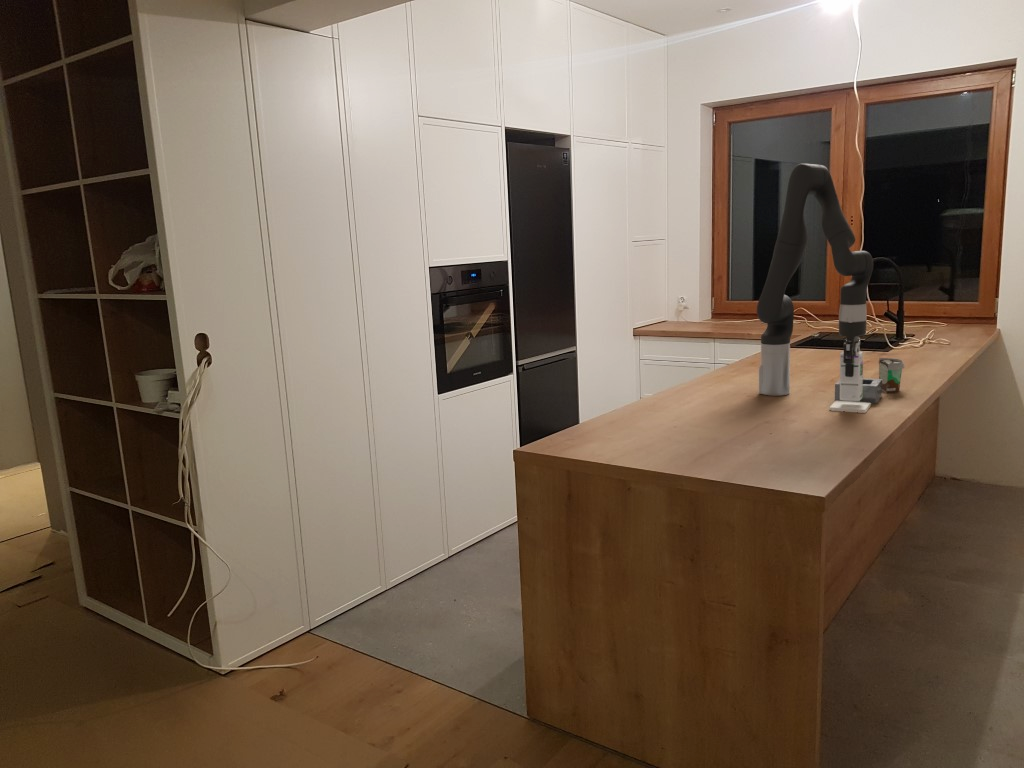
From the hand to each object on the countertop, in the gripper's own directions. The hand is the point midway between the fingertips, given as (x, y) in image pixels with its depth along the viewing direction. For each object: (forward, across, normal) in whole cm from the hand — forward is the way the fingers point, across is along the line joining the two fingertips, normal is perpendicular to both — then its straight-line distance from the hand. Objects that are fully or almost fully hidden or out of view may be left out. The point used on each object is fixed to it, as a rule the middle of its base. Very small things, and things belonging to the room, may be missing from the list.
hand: (851, 374), depth 230 cm
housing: (+10, -14, 0) cm, 18 cm away
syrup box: (+8, 0, 0) cm, 8 cm away
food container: (+11, -30, +8) cm, 33 cm away
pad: (+10, 0, 0) cm, 10 cm away
